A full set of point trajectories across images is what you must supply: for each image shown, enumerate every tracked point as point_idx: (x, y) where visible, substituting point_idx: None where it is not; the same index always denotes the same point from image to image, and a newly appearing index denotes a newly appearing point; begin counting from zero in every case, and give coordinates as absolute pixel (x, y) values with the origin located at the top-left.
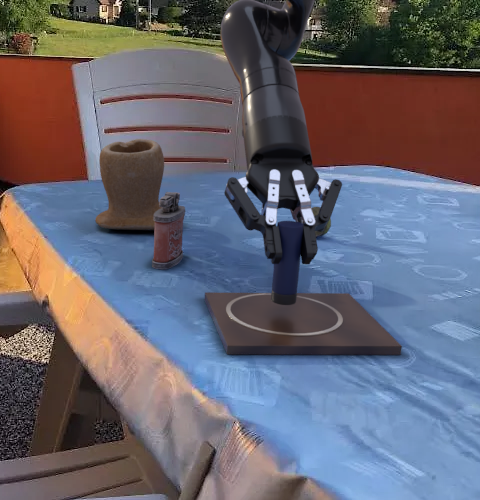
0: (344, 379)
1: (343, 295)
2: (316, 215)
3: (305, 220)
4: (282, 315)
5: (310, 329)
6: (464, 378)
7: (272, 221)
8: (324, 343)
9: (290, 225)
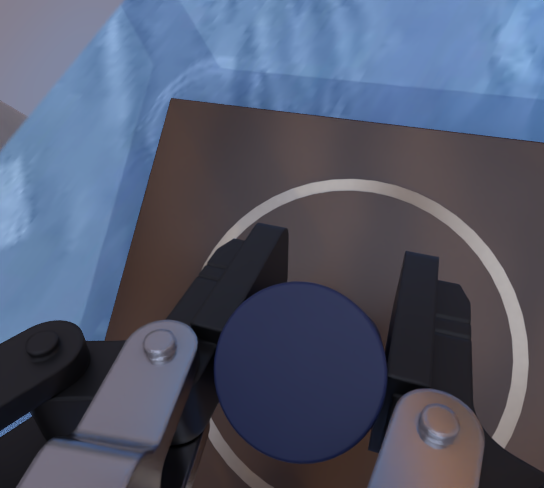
0: (360, 16)
1: None
2: (77, 397)
3: (188, 354)
4: None
5: (327, 208)
6: (136, 7)
7: (433, 405)
8: (333, 129)
9: (319, 325)
